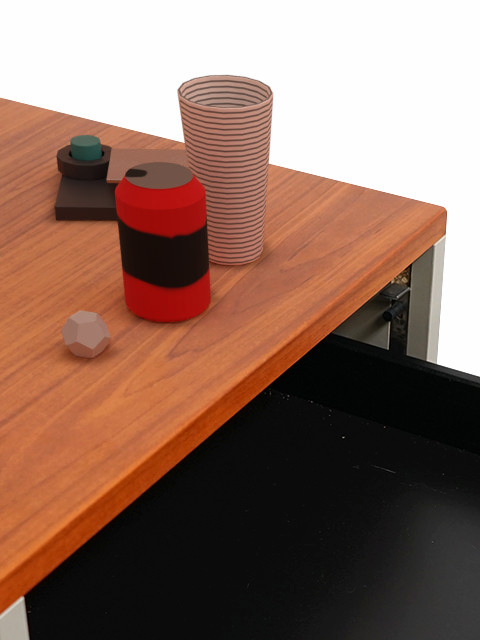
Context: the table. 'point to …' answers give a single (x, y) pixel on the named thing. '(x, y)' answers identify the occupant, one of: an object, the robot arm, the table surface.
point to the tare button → (85, 147)
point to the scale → (85, 188)
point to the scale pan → (140, 160)
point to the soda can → (163, 242)
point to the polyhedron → (85, 334)
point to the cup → (229, 159)
